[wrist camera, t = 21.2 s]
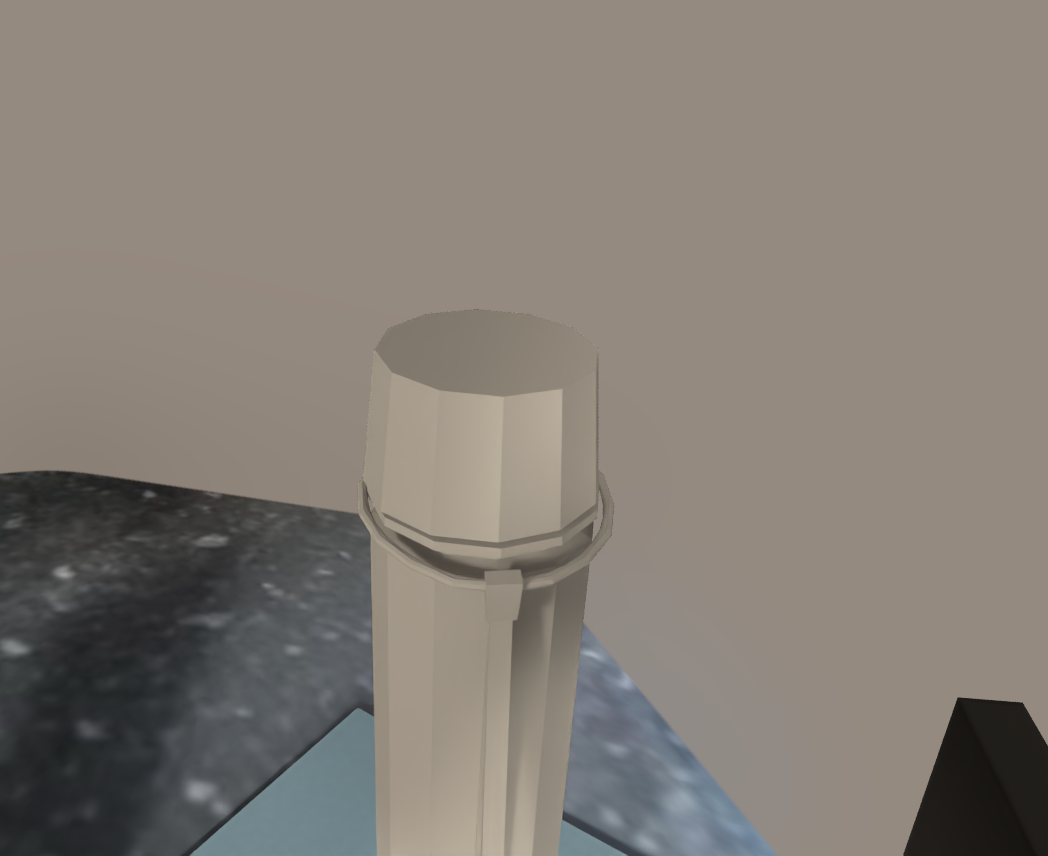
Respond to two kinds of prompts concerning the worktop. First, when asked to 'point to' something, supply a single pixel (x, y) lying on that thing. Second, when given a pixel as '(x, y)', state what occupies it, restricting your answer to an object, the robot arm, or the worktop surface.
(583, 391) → the water bottle
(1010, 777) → the robot arm
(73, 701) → the worktop surface
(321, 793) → the blue mat
